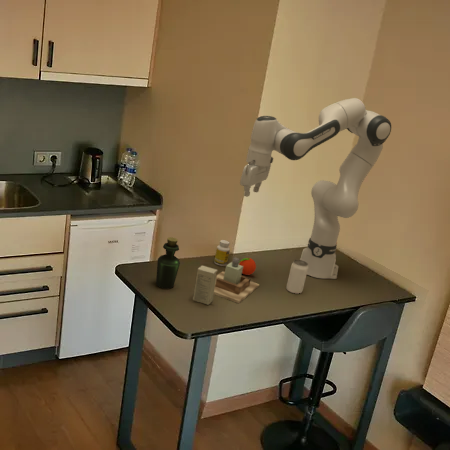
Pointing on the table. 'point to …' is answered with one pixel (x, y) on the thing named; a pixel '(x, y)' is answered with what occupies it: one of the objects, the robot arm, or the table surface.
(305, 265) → the can
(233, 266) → the sage bottle
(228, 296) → the u rest
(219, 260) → the supplement bottle
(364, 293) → the table surface
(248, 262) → the clementine
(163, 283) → the potion bottle
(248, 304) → the table surface
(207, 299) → the skincare box
